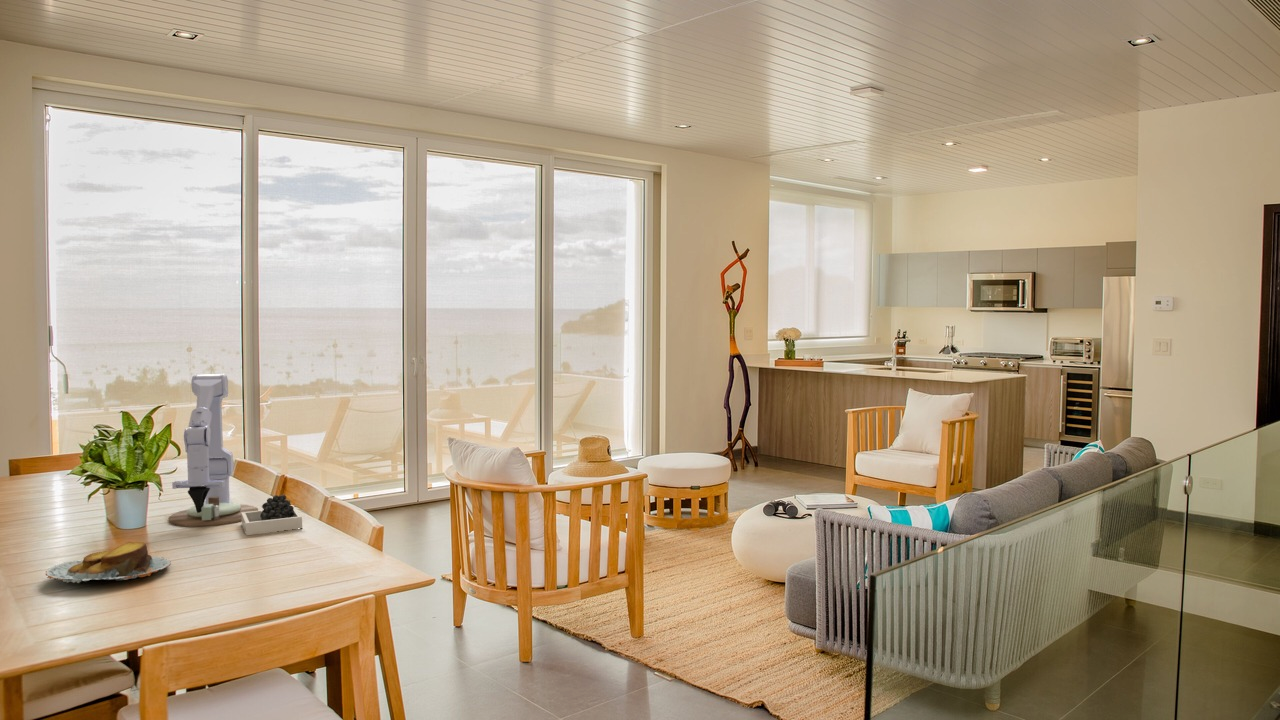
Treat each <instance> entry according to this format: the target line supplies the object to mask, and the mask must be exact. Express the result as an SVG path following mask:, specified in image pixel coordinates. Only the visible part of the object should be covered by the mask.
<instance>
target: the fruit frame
mask: <svg viewBox="0 0 1280 720" xmlns="http://www.w3.org/2000/svg"><path fill="white" fill-rule="evenodd" d="M293 508H294V509H293V511H292V512H293V513H294V514H293V516H292V517H290V518H281V519H272V520H263V521H261V519H262V518H261V517H260V515H261V513H262V511H263V510H264V509H260V510H258V511H251V512H241V521H240V523H241V527H242V528H243V529H242V530H243V531H244V533H245V536H252V535H261V534H271V533H277V531H279V532H284V530H288V531H293V530H292V529H296V530H299V529H298V528H302V529H303V516H302V515H301V513H300V512H299V510H297V508H296V506H293ZM270 532H271V533H270Z"/></svg>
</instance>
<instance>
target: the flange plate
mask: <svg viewBox="0 0 1280 720" xmlns="http://www.w3.org/2000/svg"><path fill="white" fill-rule="evenodd" d="M241 505H242V504H240V503H238V502H237V503H235V502H231V503H219V516H221V515H227V514H232V513H235V512H238V511H240V510H241ZM212 506H214V505H213V504H204V505H203V507H202V508H201V510H202V512H200V513H197V511H196V507H195V506H192V507H189V508H188V510H187V509H186V510H187V515H189V516H193V517H202V520H211V519H212V518H213V509H212Z"/></svg>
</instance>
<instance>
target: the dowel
mask: <svg viewBox="0 0 1280 720" xmlns="http://www.w3.org/2000/svg"><path fill="white" fill-rule="evenodd" d="M212 509H213V521H217V520H220V518H219V505H216V506H212Z"/></svg>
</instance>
